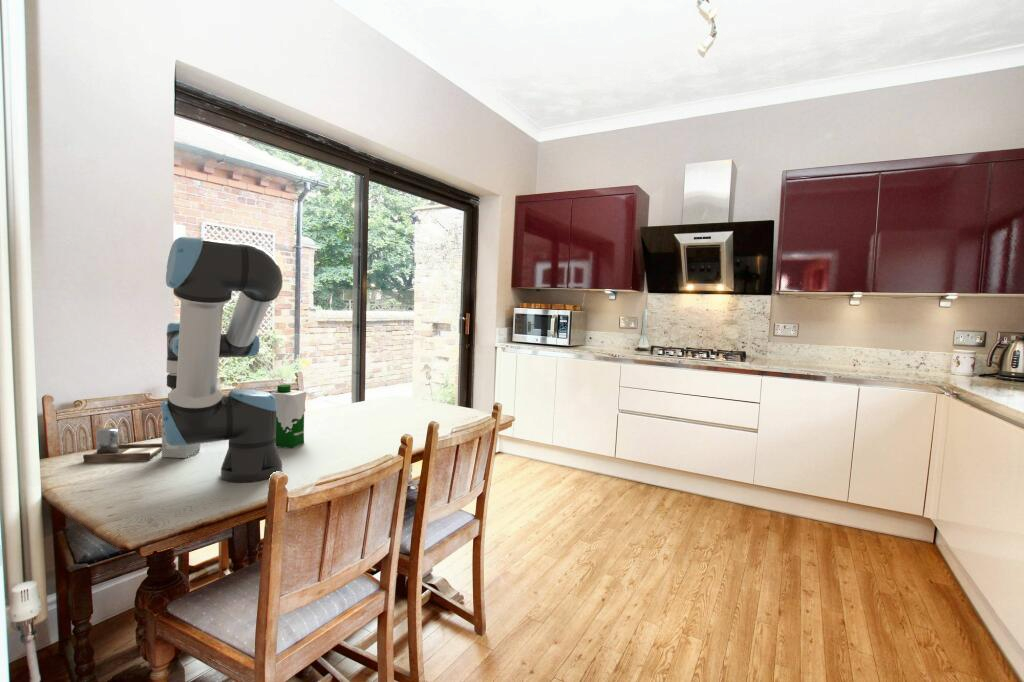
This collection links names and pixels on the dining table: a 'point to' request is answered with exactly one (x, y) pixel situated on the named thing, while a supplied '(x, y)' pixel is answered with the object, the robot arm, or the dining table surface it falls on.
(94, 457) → the wooden tray
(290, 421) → the milk carton
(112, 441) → the grey rounded cube
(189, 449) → the supplement box
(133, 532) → the dining table surface
